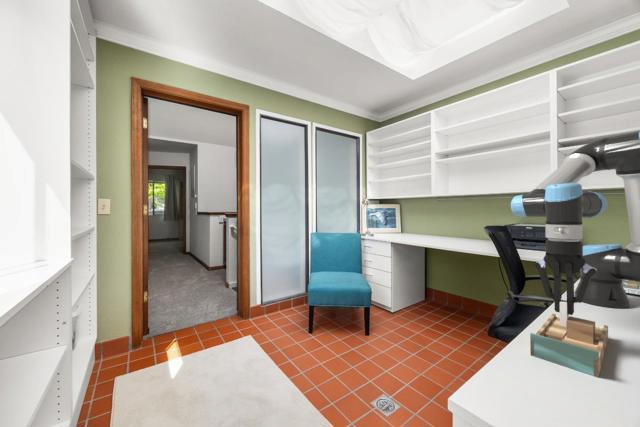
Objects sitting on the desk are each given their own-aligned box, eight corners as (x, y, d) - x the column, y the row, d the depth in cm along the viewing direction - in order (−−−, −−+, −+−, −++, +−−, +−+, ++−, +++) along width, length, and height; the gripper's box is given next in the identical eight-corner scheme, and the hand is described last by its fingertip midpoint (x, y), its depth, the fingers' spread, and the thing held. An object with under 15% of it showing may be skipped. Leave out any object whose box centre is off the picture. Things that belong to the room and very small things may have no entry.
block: (569, 332, 74) (569, 316, 74) (595, 338, 70) (595, 321, 70) (566, 337, 71) (566, 320, 71) (593, 344, 67) (593, 327, 67)
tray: (552, 325, 84) (552, 308, 84) (608, 339, 75) (608, 319, 75) (530, 355, 67) (530, 333, 67) (598, 377, 58) (598, 352, 58)
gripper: (530, 239, 75) (531, 321, 75) (596, 242, 65) (596, 337, 65) (536, 237, 80) (537, 314, 80) (599, 240, 70) (599, 328, 70)
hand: (564, 324), depth 73 cm, fingers closed
